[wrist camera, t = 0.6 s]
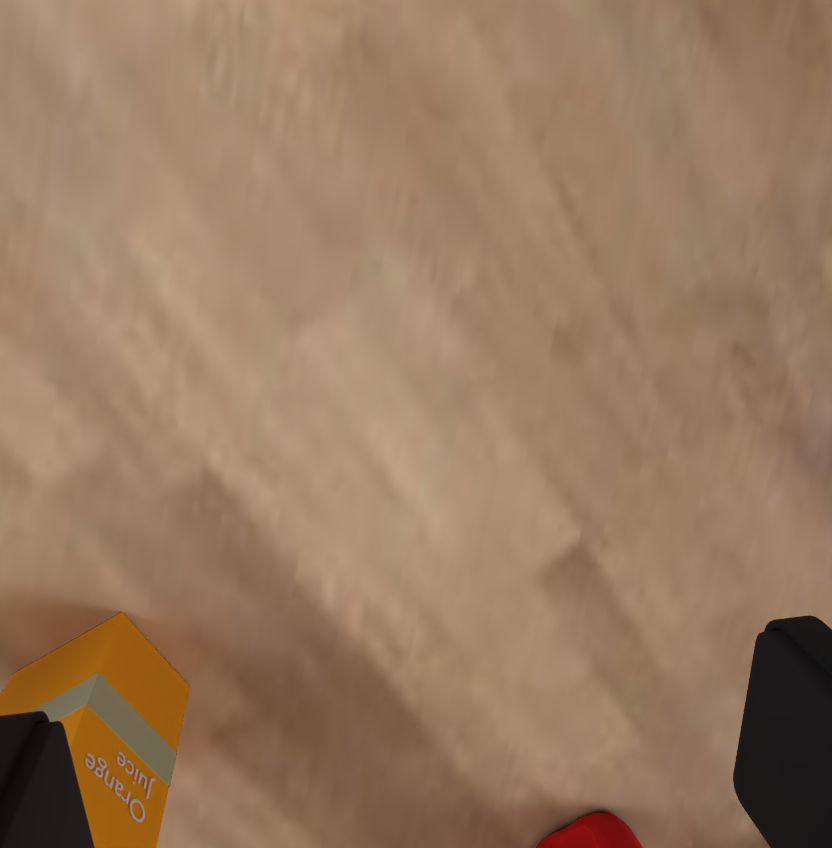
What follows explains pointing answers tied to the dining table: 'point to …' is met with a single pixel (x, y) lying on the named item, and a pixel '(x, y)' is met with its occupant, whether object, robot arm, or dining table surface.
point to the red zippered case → (593, 834)
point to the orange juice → (111, 725)
